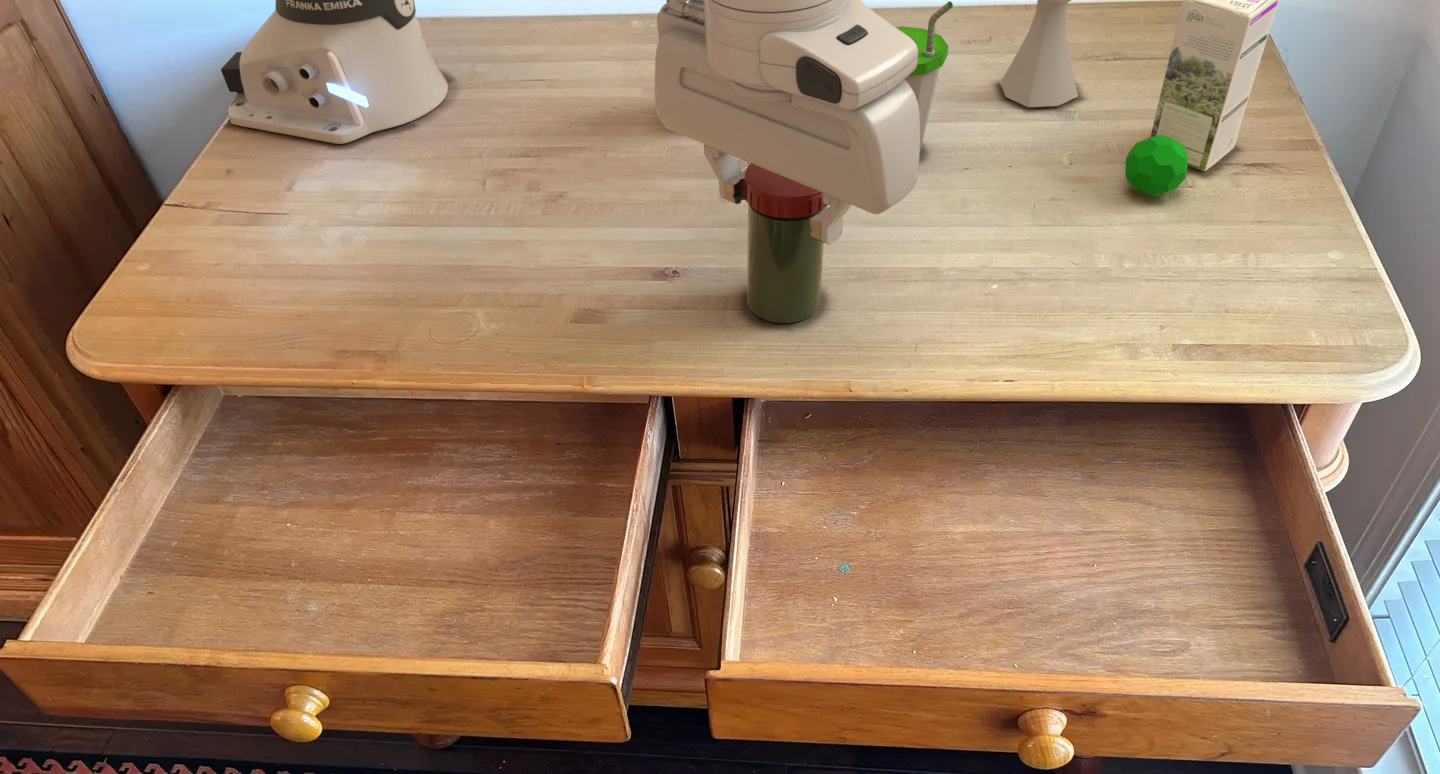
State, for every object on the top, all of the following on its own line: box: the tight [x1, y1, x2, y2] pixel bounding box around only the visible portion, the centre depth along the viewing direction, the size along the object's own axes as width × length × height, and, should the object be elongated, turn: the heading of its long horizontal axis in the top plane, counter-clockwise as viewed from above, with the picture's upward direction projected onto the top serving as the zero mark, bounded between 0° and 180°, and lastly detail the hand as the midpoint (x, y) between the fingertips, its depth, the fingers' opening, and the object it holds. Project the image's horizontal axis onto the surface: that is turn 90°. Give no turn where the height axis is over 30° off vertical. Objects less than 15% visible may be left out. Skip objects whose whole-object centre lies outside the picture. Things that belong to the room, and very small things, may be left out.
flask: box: [999, 0, 1079, 108], centre depth 101 cm, size 7×7×10 cm
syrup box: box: [1149, 0, 1280, 172], centre depth 90 cm, size 6×6×14 cm
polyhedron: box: [1124, 135, 1188, 197], centre depth 89 cm, size 5×5×5 cm
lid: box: [743, 163, 828, 218], centre depth 75 cm, size 6×6×2 cm
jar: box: [746, 203, 827, 324], centre depth 78 cm, size 6×6×10 cm
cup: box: [895, 1, 954, 151], centre depth 92 cm, size 8×8×15 cm
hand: (779, 217), depth 75 cm, fingers open, 7 cm apart
